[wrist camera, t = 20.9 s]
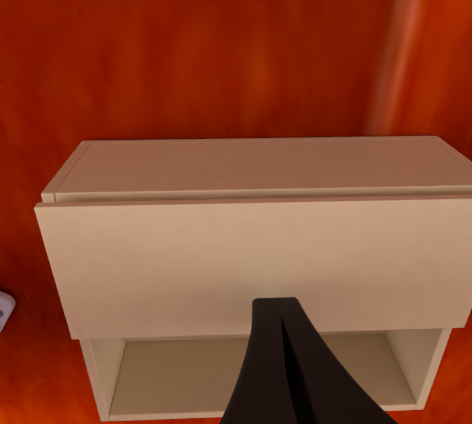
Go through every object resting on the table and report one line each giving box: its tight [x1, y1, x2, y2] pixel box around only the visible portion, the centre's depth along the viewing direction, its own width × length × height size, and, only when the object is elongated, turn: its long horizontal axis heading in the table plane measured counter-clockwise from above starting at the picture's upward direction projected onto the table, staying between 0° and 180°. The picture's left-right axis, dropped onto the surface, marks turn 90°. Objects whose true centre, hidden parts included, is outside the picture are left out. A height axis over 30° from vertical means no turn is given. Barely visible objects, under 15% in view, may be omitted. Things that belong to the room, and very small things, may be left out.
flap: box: [34, 194, 472, 339], centre depth 13 cm, size 5×14×1 cm, turn 90°
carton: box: [41, 136, 472, 421], centre depth 17 cm, size 11×14×4 cm
